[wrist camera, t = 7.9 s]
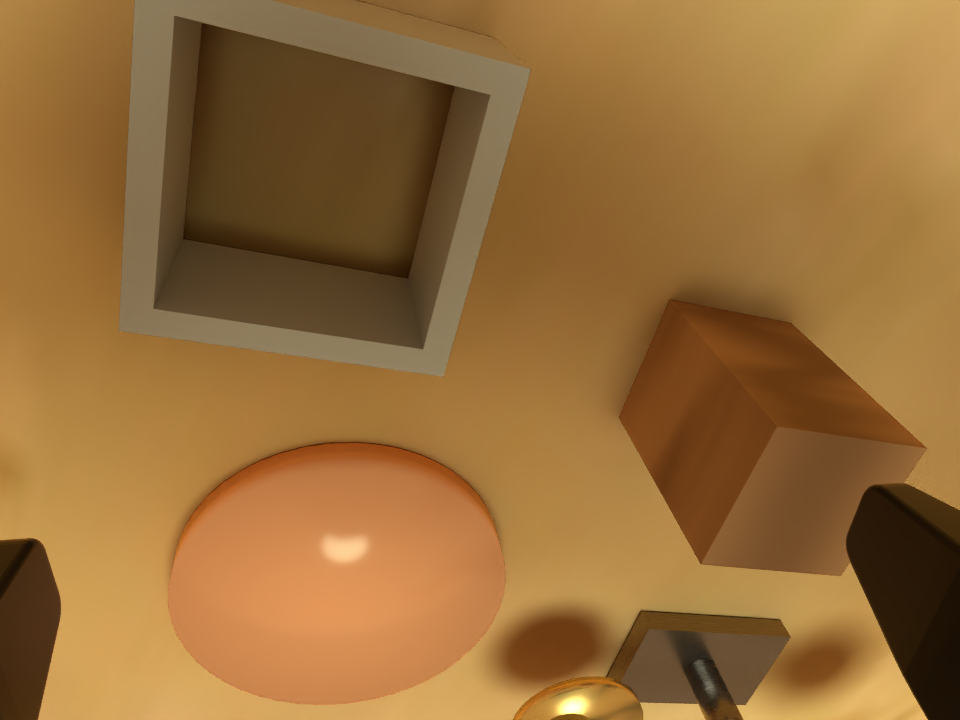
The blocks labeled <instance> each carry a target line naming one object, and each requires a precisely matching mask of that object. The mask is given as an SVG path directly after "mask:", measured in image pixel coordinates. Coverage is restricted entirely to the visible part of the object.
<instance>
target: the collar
mask: <svg viewBox="0 0 960 720" xmlns="http://www.w3.org/2000/svg"><path fill="white" fill-rule="evenodd" d="M202 23H206V24H210V25H214V26H218V27H222V28H226V29H230V30H234V31H238V32H242V33H246V34H250V35H254V36H258V37H262V38H266V39H270V40H274V41H278V42H282V43H286V44H290V45H294V46H298V47H302V48H306V49H310V50H313V51H317V52H321V53H325V54H329V55H333V56H337V57H341V58H345V59H349V60H353V61H357V62H361V63H365V64H369V65H373V66H377V67H381V68H385V69H389V70H393V71H397V72H401V73H405V74H409V75H413V76H417V77H421V78H425V79H429V80H433V81H437V82H441V83H445V84H449V85H453V86H455V88H454V92H453V96H452V100H451V104H450V109H449V113H448V117H447V121H446V125H445V129H444V133H443V137H442V142H441V146H440V150H439V154H438V158H437V162H436V166H435V171H434V175H433V179H432V183H431V187H430V191H429V195H428V199H427V204H426V208H425V212H424V216H423V220H422V224H421V228H420V232H419V237H418V241H417V245H416V249H415V253H414V257H413V261H412V266H411V270H410V274H409V278H402V277H397V276H391V275H385V274H380V273H374V272H368V271H363V270H357V269H351V268H345V267H340V266H334V265H328V264H323V263H317V262H311V261H306V260H300V259H294V258H288V257H283V256H277V255H271V254H266V253H260V252H254V251H249V250H243V249H237V248H232V247H226V246H220V245H214V244H209V243H203V242H197V241H192V240H186V239H183V234H184V223H185V212H186V200H187V189H188V177H189V166H190V154H191V143H192V132H193V120H194V109H195V97H196V86H197V74H198V63H199V52H200V40H201V29H202ZM530 72H531V69H530V68H529V67H528V66H527V65H526V64H524V63H523V62H522V61H521V60H520V59H519V58H517V57H516V56H515V55H514V54H513V53H512V52H510V51H509V50H508V49H507V48H506V47H504V46H503V45H502V44H501V43H500V42H499V41H497V40H496V39H495V38H493V37H489V36H485V35H482V34H478V33H474V32H471V31H467V30H463V29H460V28H456V27H452V26H449V25H445V24H441V23H438V22H434V21H430V20H427V19H423V18H419V17H416V16H412V15H408V14H405V13H401V12H397V11H394V10H390V9H386V8H383V7H379V6H375V5H372V4H368V3H364V2H361V1H357V0H135V3H134V23H133V44H132V65H131V86H130V107H129V128H128V149H127V169H126V190H125V211H124V232H123V253H122V274H121V294H120V315H119V331H122V332H129V333H137V334H144V335H151V336H158V337H165V338H172V339H179V340H186V341H193V342H200V343H207V344H215V345H222V346H229V347H236V348H243V349H250V350H257V351H264V352H271V353H278V354H285V355H292V356H300V357H307V358H314V359H321V360H328V361H335V362H342V363H349V364H356V365H363V366H370V367H378V368H385V369H392V370H399V371H406V372H413V373H420V374H427V375H434V376H441V377H444V374H445V370H446V367H447V363H448V360H449V356H450V353H451V349H452V346H453V342H454V339H455V335H456V331H457V328H458V324H459V321H460V317H461V314H462V310H463V307H464V303H465V300H466V296H467V293H468V289H469V286H470V282H471V279H472V275H473V272H474V268H475V265H476V261H477V258H478V254H479V251H480V247H481V244H482V240H483V237H484V233H485V230H486V226H487V223H488V219H489V216H490V212H491V209H492V205H493V202H494V198H495V195H496V191H497V188H498V184H499V181H500V177H501V174H502V170H503V166H504V163H505V159H506V156H507V152H508V149H509V145H510V142H511V138H512V135H513V131H514V128H515V124H516V121H517V117H518V114H519V110H520V107H521V103H522V100H523V96H524V93H525V89H526V86H527V82H528V79H529V75H530Z"/></svg>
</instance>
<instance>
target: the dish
mask: <svg viewBox="0 0 960 720" xmlns="http://www.w3.org/2000/svg"><path fill="white" fill-rule="evenodd" d="M504 587H505V564H504V560H503V556H502V551H501V548H500V544H499V540H498V536H497V532H496V529H495V525H494V522H493V520H492V517H491V515H490V513H489V511H488V508H487V507H486V505H485V504H484V502H483V501H482V499H481V498H480V496H479V495H478V494H477V493H476V492H475V491H474V490H473V489H472V488H471V487H470V485H469V484H468V483H467V482H465V481H464V480H463V479H462V478H460V477H459V476H458V475H457V474H455V473H454V472H453V471H451V470H449V469H448V468H446V467H444V466H442V465H441V464H439V463H437V462H435V461H433V460H431V459H428V458H426V457H424V456H421V455H419V454H416V453H413V452H409V451H406V450H402V449H399V448H394V447H388V446H383V445H377V444H364V443H332V444H323V445H316V446H309V447H303V448H299V449H295V450H291V451H287V452H283V453H280V454H278V455H275V456H272V457H270V458H267V459H264V460H262V461H259V462H257V463H255V464H253V465H251V466H249V467H247V468H245V469H243V470H241V471H240V472H238V473H237V474H235V475H234V476H232V477H231V478H229V479H228V480H226V481H225V482H223V483H222V484H221V485H220V486H219V487H217V488H216V489H215V490H214V491H213V492H212V493H211V494H209V495H208V496H207V497H206V498H205V500H204V501H203V502H202V503H201V504H200V505H199V507H198V508H197V509H196V510H195V511H194V513H193V515H192V516H191V518H190V519H189V521H188V523H187V524H186V526H185V528H184V530H183V533H182V535H181V538H180V540H179V543H178V547H177V552H176V556H175V560H174V564H173V569H172V573H171V578H170V583H169V587H168V608H169V613H170V618H171V622H172V624H173V627H174V630H175V632H176V635H177V636H178V638H179V640H180V641H181V643H182V644H183V646H184V648H185V649H186V650H187V651H188V653H189V654H190V655H191V656H192V657H193V658H194V659H195V660H196V662H198V663H199V664H200V665H201V666H202V667H204V668H205V669H206V670H207V671H208V672H210V673H211V674H213V675H214V676H216V677H217V678H219V679H221V680H222V681H224V682H226V683H228V684H230V685H232V686H234V687H236V688H238V689H240V690H243V691H246V692H248V693H251V694H254V695H257V696H260V697H264V698H268V699H273V700H277V701H283V702H290V703H296V704H312V705H330V704H345V703H354V702H360V701H366V700H371V699H376V698H380V697H384V696H387V695H391V694H395V693H397V692H400V691H403V690H406V689H408V688H411V687H413V686H416V685H418V684H420V683H422V682H424V681H426V680H429V679H430V678H432V677H434V676H436V675H437V674H439V673H441V672H443V671H444V670H446V669H447V668H449V667H450V666H451V665H453V664H454V663H456V662H457V661H458V660H460V659H461V658H462V657H463V656H464V655H465V654H466V653H468V652H469V651H470V650H471V649H472V648H473V647H474V646H475V645H476V644H477V642H478V641H479V640H480V639H481V638H482V637H483V636H484V634H485V633H486V631H487V630H488V628H489V627H490V625H491V624H492V622H493V620H494V618H495V616H496V614H497V612H498V610H499V607H500V604H501V601H502V598H503V595H504Z"/></svg>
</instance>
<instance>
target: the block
mask: <svg viewBox="0 0 960 720" xmlns="http://www.w3.org/2000/svg"><path fill="white" fill-rule="evenodd" d="M619 418H620V420H621V422H622V424H623V426H624V427H625V429H626V431H627V433H628V435H629V436H630V438H631V440H632V442H633V444H634V445H635V447H636V449H637V451H638V452H639V454H640V456H641V458H642V460H643V461H644V463H645V465H646V467H647V469H648V470H649V472H650V474H651V476H652V478H653V479H654V481H655V483H656V485H657V487H658V488H659V490H660V492H661V494H662V496H663V497H664V499H665V501H666V503H667V504H668V506H669V508H670V510H671V512H672V513H673V515H674V517H675V519H676V521H677V522H678V524H679V526H680V528H681V530H682V531H683V533H684V535H685V537H686V539H687V540H688V542H689V544H690V546H691V548H692V549H693V551H694V553H695V555H696V556H697V558H698V560H699V562H700V564H702V565H714V566H726V567H738V568H750V569H762V570H774V571H786V572H798V573H810V574H822V575H834V576H841V575H842V573H843V572H844V571H845V569H846V568H847V566H848V565H849V563H850V560H849V557H848V554H847V550H846V536H847V532H848V530H849V527H850V525H851V522H852V520H853V518H854V515H855V513H856V510H857V508H858V505H859V503H860V500H861V498H862V495H863V493H864V492H865V490H866V489H868V488H869V487H870V486H872V485H875V484H889V483H904V482H905V480H906V479H907V477H908V476H909V474H910V473H911V472H912V470H913V469H914V467H915V466H916V464H917V463H918V461H919V460H920V458H921V457H922V455H923V454H924V452H925V451H926V449H927V448H926V447H925V446H924V445H923V444H922V443H921V442H919V441H918V440H917V439H916V438H915V437H914V436H913V435H912V434H911V433H910V432H909V431H908V430H906V429H905V428H904V427H903V426H902V425H901V424H900V423H899V422H898V421H897V420H896V419H895V418H893V417H892V416H891V415H890V414H889V413H888V412H887V411H886V410H885V409H884V408H883V407H882V406H880V405H879V404H878V403H877V402H876V401H875V400H874V399H873V398H872V397H871V396H870V395H869V394H867V393H866V392H865V391H864V390H863V389H862V388H861V387H860V386H859V385H858V384H857V383H856V382H854V381H853V380H852V379H851V378H850V377H849V376H848V375H847V374H846V373H845V372H844V371H842V370H841V369H840V368H839V367H838V366H837V365H836V364H835V363H834V362H833V361H832V360H831V359H829V358H828V357H827V356H826V355H825V354H824V353H823V352H822V351H821V350H820V349H819V348H818V347H816V346H815V345H814V344H813V343H812V342H811V341H810V340H809V339H808V338H807V337H806V336H805V335H803V334H802V333H801V332H800V331H799V330H798V329H797V328H796V327H795V326H794V325H793V324H792V323H789V322H784V321H778V320H773V319H768V318H763V317H758V316H752V315H747V314H742V313H737V312H732V311H726V310H721V309H716V308H711V307H706V306H700V305H695V304H690V303H685V302H680V301H674V300H669V302H668V305H667V307H666V309H665V312H664V314H663V316H662V318H661V321H660V323H659V325H658V328H657V330H656V332H655V335H654V337H653V339H652V342H651V344H650V346H649V349H648V351H647V353H646V356H645V358H644V360H643V363H642V365H641V367H640V370H639V372H638V374H637V376H636V379H635V381H634V383H633V386H632V388H631V390H630V393H629V395H628V397H627V400H626V402H625V404H624V407H623V409H622V411H621V414H620V416H619Z"/></svg>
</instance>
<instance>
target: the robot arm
mask: <svg viewBox="0 0 960 720" xmlns="http://www.w3.org/2000/svg"><path fill="white" fill-rule="evenodd" d="M846 550H847V554H848V557H849V560H850V562H851V564H852V566H853V569H854V571H855V573H856V575H857V577H858V580H859V582H860V584H861V586H862V588H863V591H864V593H865V595H866V597H867V599H868V601H869V604H870V606H871V608H872V610H873V612H874V615H875V617H876V619H877V621H878V623H879V626H880V628H881V630H882V632H883V634H884V637H885V639H886V641H887V643H888V645H889V647H890V650H891V652H892V654H893V656H894V658H895V660H896V662H897V664H898V666H899V668H900V670H901V673H902V675H903V676H904V678H905V680H906V682H907V684H908V686H909V687H910V689H911V691H912V693H913V695H914V697H915V698H916V700H917V702H918V704H919V705H920V707H921V709H922V711H923V712H924V714H925V716H926V717H927V719H928V720H960V510H958V509H956V508H954V507H952V506H950V505H948V504H946V503H944V502H942V501H940V500H938V499H936V498H934V497H932V496H930V495H928V494H926V493H924V492H922V491H920V490H918V489H916V488H915V487H913V486H910V485H908V484H904V483H889V484H875V485H872V486H870V487H869V488H868V489H866V490H865V492H864V493H863V495H862V498H861V500H860V503H859V505H858V508H857V510H856V513H855V515H854V518H853V520H852V522H851V525H850V527H849V530H848V532H847V536H846ZM60 615H61V600H60V595H59V591H58V588H57V585H56V582H55V579H54V576H53V572H52V569H51V566H50V563H49V560H48V557H47V554H46V550H45V548H44V546H43V544H42V543H41V542H40V541H39V540H37V539H33V538H27V539H11V540H0V720H38V717H39V713H40V708H41V703H42V699H43V694H44V690H45V685H46V681H47V676H48V672H49V667H50V663H51V658H52V654H53V649H54V644H55V640H56V635H57V631H58V626H59V622H60Z"/></svg>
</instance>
